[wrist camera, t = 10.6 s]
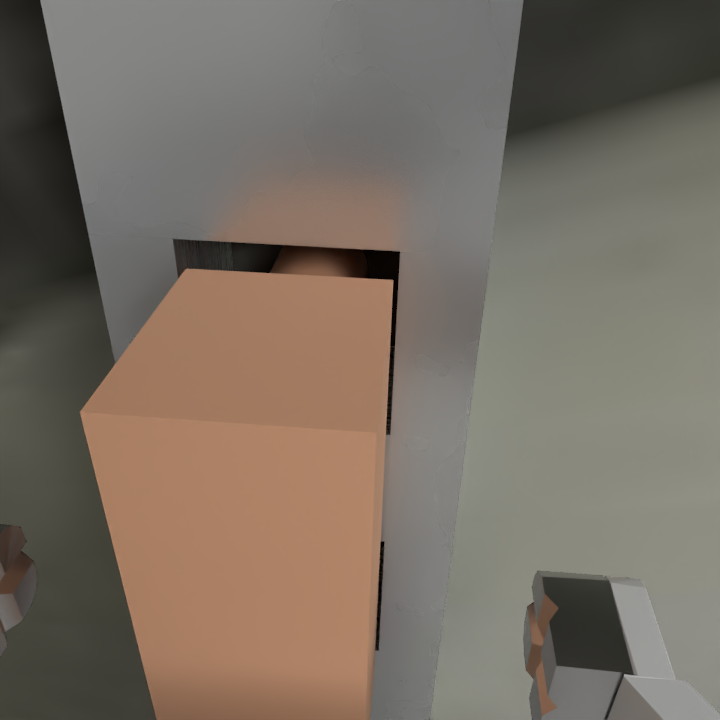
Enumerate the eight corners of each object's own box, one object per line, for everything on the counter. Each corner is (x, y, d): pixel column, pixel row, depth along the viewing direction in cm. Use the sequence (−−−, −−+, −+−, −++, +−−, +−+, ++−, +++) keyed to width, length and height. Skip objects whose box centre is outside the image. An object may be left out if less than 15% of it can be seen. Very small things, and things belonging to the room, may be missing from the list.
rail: (79, -379, 9) (-64, -504, 6) (544, -384, 8) (590, -522, 6) (231, 694, 22) (203, 794, 19) (419, 714, 21) (417, 819, 19)
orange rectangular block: (243, 191, 13) (79, 411, 7) (402, 199, 13) (376, 432, 7) (268, 532, 18) (185, 835, 12) (383, 541, 17) (360, 854, 11)
